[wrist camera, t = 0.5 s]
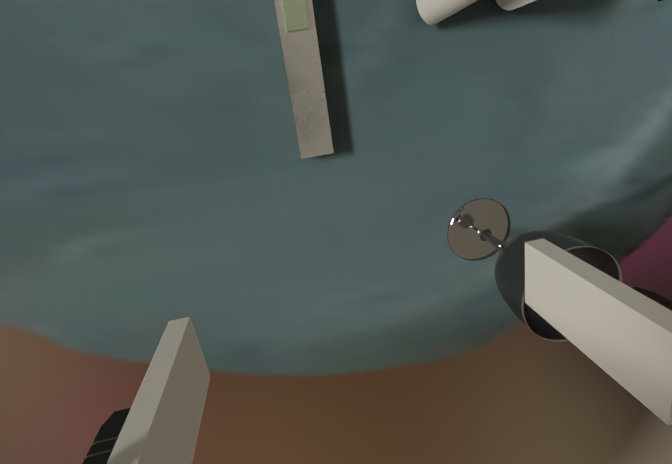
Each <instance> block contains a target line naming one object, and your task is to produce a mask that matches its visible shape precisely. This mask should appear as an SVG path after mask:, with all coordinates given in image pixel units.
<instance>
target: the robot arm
mask: <svg viewBox="0 0 672 464" xmlns="http://www.w3.org/2000/svg"><path fill="white" fill-rule="evenodd" d="M525 303H526V304H527V305H528V306H530V307H531V308H532V309H533V310H534V311H535V312H537V313H538V314H539V315H540V316H541V317H542V318H544V319H545V320H546V321H547V322H548V323H549V324H551V325H552V326H553V327H554V328H555V329H556V330H558V331H559V332H560V333H561V334H562V335H563V336H565V337H566V338H567V339H568V340H569V341H571V342H572V343H573V344H574V345H575V346H576V347H577V348H579V349H580V350H581V351H582V352H583V353H584V354H586V355H587V356H588V357H589V358H590V359H591V360H593V361H594V362H595V363H596V364H597V365H598V366H600V367H601V368H602V369H603V370H604V371H605V372H606V373H608V374H609V375H610V376H611V377H612V378H613V379H615V380H616V381H617V382H618V383H619V384H620V385H622V386H623V387H624V388H625V389H626V390H627V391H629V392H630V393H631V394H632V395H633V396H634V397H636V398H637V399H638V400H639V401H640V402H641V403H643V404H644V405H645V406H646V407H647V408H648V409H650V410H651V411H652V412H653V413H654V414H656V415H657V416H658V417H659V418H660V419H661V420H662V421H664V422H665V423H666V424H667V425H671V424H672V302H671V301H670V300H668V299H666V298H664V297H662V296H660V295H659V294H657V293H654V292H651V291H648V290H644V289H641V288H638V287H634V288H630V287H629V286H627V285H625V284H623V283H621V282H620V281H618V280H616V279H614V278H613V277H611V276H609V275H607V274H606V273H604V272H602V271H600V270H598V269H597V268H595V267H593V266H591V265H590V264H588V263H586V262H584V261H582V260H581V259H579V258H577V257H575V256H574V255H572V254H570V253H568V252H567V251H565V250H563V249H561V248H559V247H558V246H556V245H554V244H552V243H551V242H549V241H547V240H545V239H543V238H542V239H537V240H533V241H528V242H525ZM209 380H210V374H209V371H208V368H207V365H206V362H205V359H204V357H203V354H202V351H201V348H200V345H199V342H198V339H197V336H196V333H195V331H194V328H193V325H192V322H191V319H190V317H186V318H182V319H177V320H173V321H169V322H168V324H167V327H166V329H165V331H164V333H163V336H162V338H161V340H160V343H159V345H158V347H157V350H156V352H155V354H154V356H153V359H152V361H151V363H150V366H149V368H148V370H147V372H146V375H145V377H144V379H143V382H142V384H141V386H140V388H139V391H138V393H137V395H136V398H135V400H134V402H133V404H132V407H131V408H128V409H124V410H119V411H115V412H114V413H113V414H112V415H111V416H110V417H109V419H108V420H107V421H106V422H105V423H104V424H103V425H102V426H101V428H100V430H99V432H98V434H97V436H96V438H95V440H94V442H93V445H92V446H91V448H90V450H89V452H88V454H87V458H86V459H85V460H84V462H83V464H192V460H193V456H194V451H195V446H196V442H197V437H198V432H199V428H200V423H201V418H202V413H203V408H204V404H205V399H206V394H207V389H208V384H209Z"/></svg>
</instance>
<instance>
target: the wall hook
mask: <svg viewBox="0 0 672 464" xmlns="http://www.w3.org/2000/svg"><path fill="white" fill-rule="evenodd" d="M476 1H477V0H416V4H417V9H418V11H419V14H420V16H421V17H422V19H423V20H424V21H425V22H426V23H427V24H429V25H435V24H437V23H439V22H440V21H442V20H444V19H446V18H447V17H449V16H451V15H453V14H455V13H456V12H458V11H460V10H462V9H463V8H465V7H467V6H469V5H470V4H472V3H474V2H476ZM495 1H496V2H497V4H498V5H499V6H500V7H501V8H502V9H504V10H509V11H510V10H514V9H516V8H519V7H521V6H524V5H526V4H528V3H531V2H533V1H536V0H495Z"/></svg>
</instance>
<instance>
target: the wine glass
mask: <svg viewBox="0 0 672 464" xmlns="http://www.w3.org/2000/svg"><path fill="white" fill-rule="evenodd" d="M509 230H510V219H509V216H508V213H507V211H506V209H505V208H504V207H503V206H502V205H501V204H500V203H498V202H497V201H494V200H491V199H476V200H473V201H470V202H469V203H467V204H465V205H464V206H462V207H461V208H460V209H459V210H458V211H457V212H456V213H455V215H454V216H453V218H452V220H451V222H450V224H449V227H448V242H449V245H450V247H451V249H452V250H453V252H454V253H455V254H456V255H457V256H459V257H461V258H463V259H465V260H471V261H477V260H482V259H485V258H488V257H490V256H491V255H493V254H494V253H496V252H497V251H499V253H500V254H499V256H498V258H497V261H496V265H495V280H496V284H497V287H498V289H499V291H500V293H501V295H502V297H503V299H504V300H505V302H506V303H507V305H508V306H509V307H510V309H511V310H512V312H513V313H514V314H515V315H516V316H517V317H518V318H519V319H520V320H521V321H522V322H523V323H524V324H525V325H526V326H527V327H528V328H529V329H530V330H531V331H532V332H533V333H535V334H536V335H537V336H539V337H541V338H543V339H546V340H549V341H556V342H563V341H569V340H568V339H567V338H566V337H565V336H563V335H562V334H561V333H560V332H559V331H558V330H556V329H555V328H554V327H553V326H552V325H551V324H549V323H548V322H547V321H546V320H545V319H544V318H542V317H541V316H540V315H539V314H538V313H537V312H535V311H534V310H533V309H532V308H531V307H530V306H528V305H527V304H526V303H525V242H528V241H533V240H537V239H542V238H543V239H545V240H547V241H549V242H551V243H552V244H554V245H556V246H558V247H559V248H561V249H563V250H565V251H567V252H568V253H570V254H572V255H574V256H575V257H577V258H579V259H581V260H582V261H584V262H586V263H588V264H590V265H591V266H593V267H595V268H597V269H598V270H600V271H602V272H604V273H606V274H607V275H609V276H611V277H613V278H614V279H616V280H618V281H620V282H621V283H622V274H621V269H620V267H619V265H618V263H617V261H616V260H615V259H614V258H613V257H612V256H611V255H610V254H609V253H607V252H606V251H604V250H602V249H600V248H598V247H597V246H595V245H592V244H590V243H588V242H585V241H583V240H581V239H578V238H576V237H573V236H570V235H566V234H562V233H557V232H551V231H531V232H527V233H524V234H521V235H519V236H517V237H515V238H514V239H512V240H511V241H510V242H505V241H506V239H507V237H508V234H509Z"/></svg>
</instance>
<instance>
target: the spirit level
mask: <svg viewBox="0 0 672 464" xmlns="http://www.w3.org/2000/svg"><path fill="white" fill-rule="evenodd" d="M273 2H274V8H275V14H276V20H277V26H278V31H279V37H280V43H281V49H282V55H283V60H284V66H285V72H286V78H287V84H288V89H289V95H290V101H291V107H292V113H293V118H294V124H295V130H296V136H297V142H298V147H299V153H300V157H301V159H303V158H309V157H315V156H321V155H327V154H333V153H334V151H333V144H332V137H331V130H330V123H329V116H328V109H327V102H326V95H325V88H324V81H323V74H322V67H321V60H320V53H319V46H318V39H317V32H316V25H315V18H314V11H313V4H312V0H273Z"/></svg>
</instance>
